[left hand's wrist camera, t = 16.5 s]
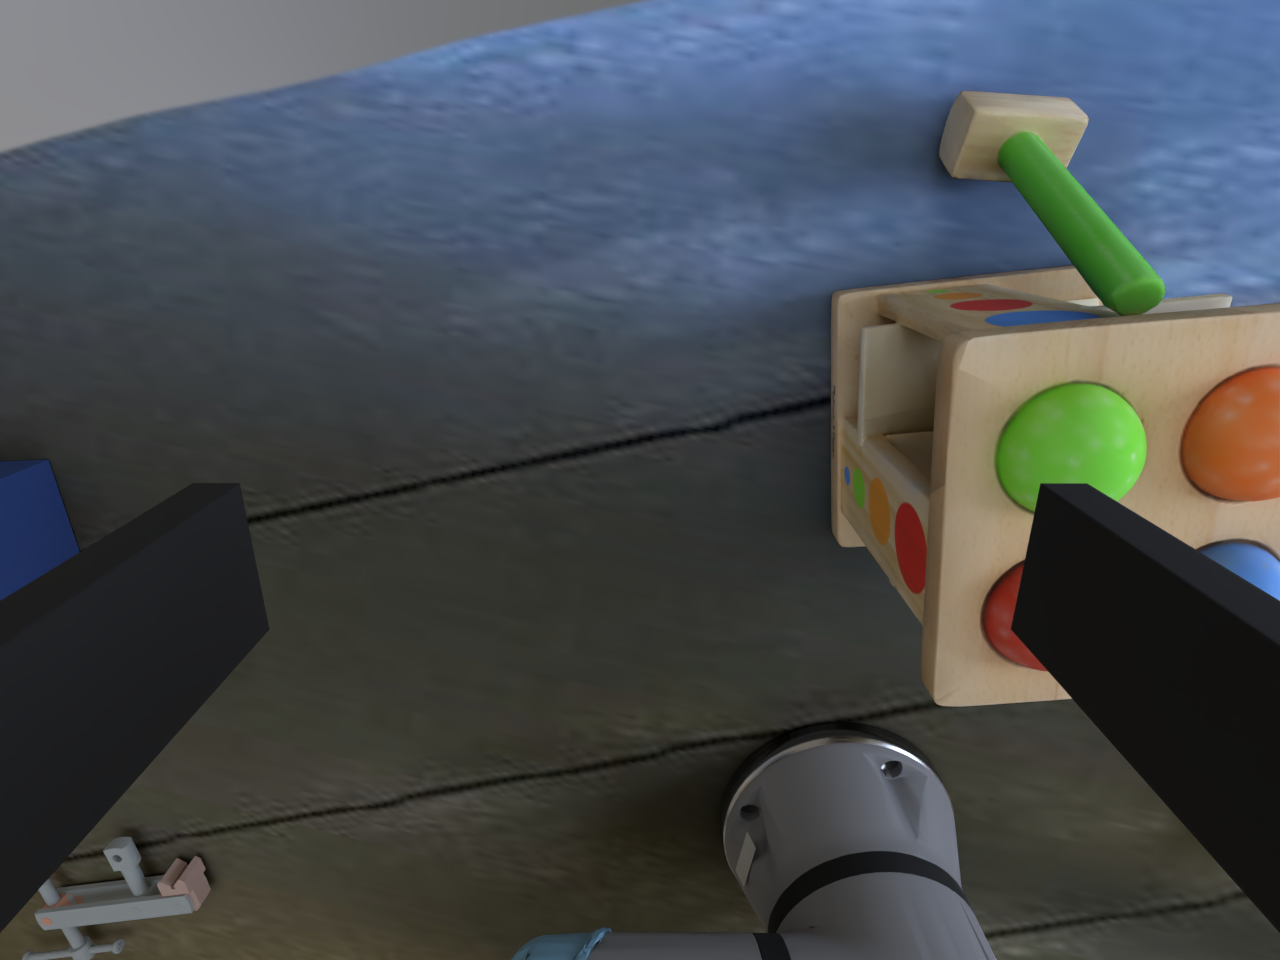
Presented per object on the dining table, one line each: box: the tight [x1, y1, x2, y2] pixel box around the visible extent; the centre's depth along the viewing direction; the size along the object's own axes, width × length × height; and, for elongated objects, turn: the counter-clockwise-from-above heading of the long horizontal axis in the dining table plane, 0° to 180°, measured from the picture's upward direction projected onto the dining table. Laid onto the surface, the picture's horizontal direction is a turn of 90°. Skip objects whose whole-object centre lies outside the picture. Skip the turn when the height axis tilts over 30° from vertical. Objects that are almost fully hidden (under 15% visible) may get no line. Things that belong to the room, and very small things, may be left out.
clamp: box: [22, 837, 211, 960], centre depth 51 cm, size 15×2×10 cm
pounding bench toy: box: [831, 91, 1280, 706], centre depth 30 cm, size 23×14×18 cm, turn 5°
